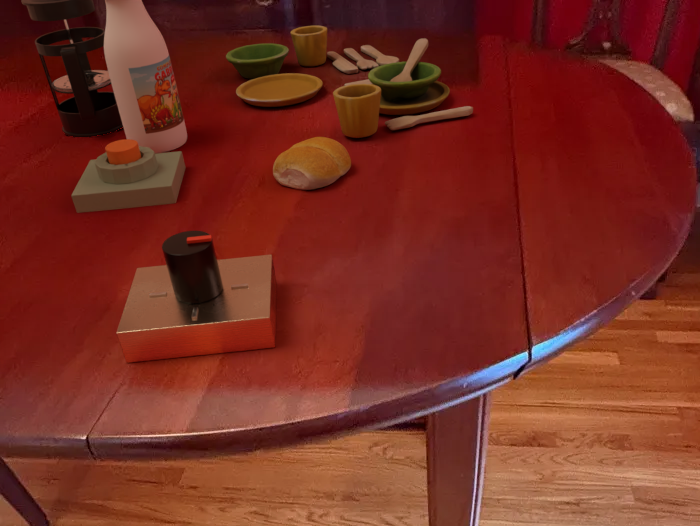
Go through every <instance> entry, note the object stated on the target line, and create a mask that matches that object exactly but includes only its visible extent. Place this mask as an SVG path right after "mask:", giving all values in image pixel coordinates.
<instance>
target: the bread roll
mask: <svg viewBox="0 0 700 526" xmlns="http://www.w3.org/2000/svg"><path fill="white" fill-rule="evenodd" d="M351 167H352V159H351V156H350V153H349V152H348V150H347V148H346V147H345V146H344V145H343V144H342V143H340V142H339V141H337V140H335V139H334V138H329V137H325V136H314V137H311V138H308V139H304V140H302V141H300V142H296V143H294V144H293V145H292V146H291V147H290V148H288V149H287V150H284V151H283V152H281V153H280V154H279V155H278V156H276V159H275V160H274V162H273V166H272V175H273V178H274V179H275V180H276V182H278V183H279V184H280V185H281V186H284V187H289V188H291V189H294V190H295V189H296V190H303V191H307V190H308V191H310V190H316V189H321V188H323V187H327V186H329V185H331V184H333V183H335V182H337V180H338V179H340V177H342V176H344V175H346V174H347V172H348V171H349V170H350V169H351Z"/></svg>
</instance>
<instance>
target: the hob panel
mask: <svg viewBox="0 0 700 526" xmlns="http://www.w3.org/2000/svg"><path fill="white" fill-rule="evenodd" d="M217 261H218V266H219V270H220V275H221V279H222V284H223V289H222V291H221V293H220V294H219V295H218V296H216V297H215V298H213V299H211V300H208V301H205V302H201V303H184V302H181V301H179V300H178V299H177V298H176V297H175V294H174V290H173V287H172V283H171V279H170V276H169V272H168V268H167V265H166V264H164V265H163V264H162V265H154V266H143V267H137V268H136V269H135V273H134V276H133V279H132V283H131V286H130V289H129V292H128V295H127V299H126V301H125V305H124V307H123V311H122V314H121V317H120V320H119V323H118V326H117V328H116V329H117V330H116V332H115V334H116V336H117V339H118V342H119V345H120V348H121V351H122V354H123V357H124V359H125V362H126V364H129V363H138V362H139V363H140V362H150V361H157V360H168V359H177V358H186V357H187V358H188V357H196V356H206V355H216V354H227V353H236V352H246V351H255V350H264V349H275V348H276V334H277V333H276V331H277V329H276V327H277V287H278V284H277V283H278V282H277V277H276V270H275V263H274V259H273V254H264V255H263V254H262V255H253V256H251V255H250V256H244V257H243V256H242V257H232V258H225V259H223V258H221V259H217Z"/></svg>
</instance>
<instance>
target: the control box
mask: <svg viewBox="0 0 700 526" xmlns="http://www.w3.org/2000/svg"><path fill="white" fill-rule="evenodd" d="M139 149H140V153H141V158H140V159H139V160H137V161H135V162H131V163H128V164H121V165H113V164H110V163H109V160H108V157H107V153H106V152H103V153H102V154H100V155H99V156H97V157H96V159H90V160H89V161H88V163H87V166H86V167H85V169H84V171H83V173H82V175H81V177H80V178H79V180H78V182H77V184H76V186H75V187H74V190H73V191H72V193H71V196H70V197H71V200H72V202H73V206H74V208H75V211H76V213H77V214H80V213H81V214H82V213H91V212H92V213H93V212H101V211H110V210H120V209H121V210H122V209H132V208H142V207H153V206H162V205H173V204H176V203H177V200H178V196H179V194H180V190H181V185H182V183H183V178H184V175H185V171H186V163H185V159H184V155H183V151H181V150H179V151H171V152H170V151H167V152H162V153H156V154H155V152H154V151H153V150H152V149H150V148H149V147H142V146H139Z"/></svg>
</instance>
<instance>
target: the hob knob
mask: <svg viewBox="0 0 700 526" xmlns="http://www.w3.org/2000/svg"><path fill="white" fill-rule="evenodd" d="M161 249H162V253H163V257H164V260H165V265H167V268H168V272H169V276H170V279H171V283H172V287H173V290H174V294H175V297H176V298H177V299H178V300H179V301H181V302H184V303H201V302H205V301H208V300H211V299H213V298H215V297H216V296H218V295H219V294H220V293H221V291H222V289H223V284H222V279H221V275H220V270H219V266H218V261H217V260H218V257H217V252H216V249H215V244H214V239H213V236H212V234H210V233H208V232H206V231H203V230H186V231H182V232H178V233H176V234H173V235H171V236H169V237H167V238H166V239H164V240H163V242H162V245H161Z"/></svg>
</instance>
